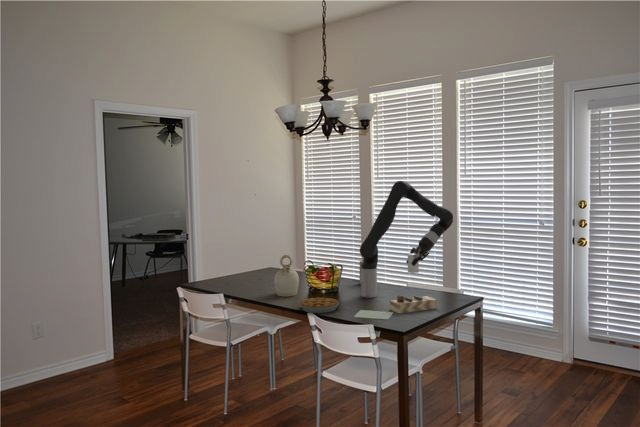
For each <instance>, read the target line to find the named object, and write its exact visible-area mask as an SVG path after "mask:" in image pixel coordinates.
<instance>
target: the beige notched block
mask: <svg viewBox="0 0 640 427" xmlns="http://www.w3.org/2000/svg"><path fill="white" fill-rule="evenodd" d="M437 302H438V301H437V298H434V297H432V296H428V295H424V296H419V295H413V297H408V296H405V295H401V294H400V295H396V299H391V300H389V310H391V312H393V313H394V312H395V313H397V314H404V313H413V312H420V311H427V310H434V309H437V307H438V306H437V305H438V304H437Z"/></svg>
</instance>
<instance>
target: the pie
mask: <svg viewBox="0 0 640 427" xmlns="http://www.w3.org/2000/svg"><path fill="white" fill-rule="evenodd" d="M339 304H340V302H339V300H338V299H336V298H332V297H328V298H327V297H324V296H323V297H319V296H316V297H309V298H304V299H303V300H300V303H299V305H300V307H301V309H302V310H303V311H304V312H306V313H311V312H312V313H311V314H313V313H314V314H316V313H317V314H322V313H333V312H334V311H336V310H337V307H338V306H339Z"/></svg>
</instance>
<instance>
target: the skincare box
mask: <svg viewBox="0 0 640 427" xmlns="http://www.w3.org/2000/svg"><path fill="white" fill-rule="evenodd" d="M362 262H363V260H359V284H360V285H361V281H362Z"/></svg>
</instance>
